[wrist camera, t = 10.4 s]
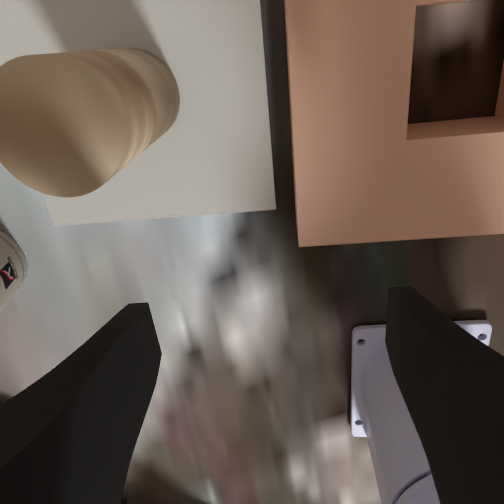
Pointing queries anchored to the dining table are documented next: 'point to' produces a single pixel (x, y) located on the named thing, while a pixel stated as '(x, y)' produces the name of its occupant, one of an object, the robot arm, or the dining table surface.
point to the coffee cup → (10, 268)
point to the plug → (82, 115)
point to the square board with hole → (380, 133)
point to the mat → (190, 110)
